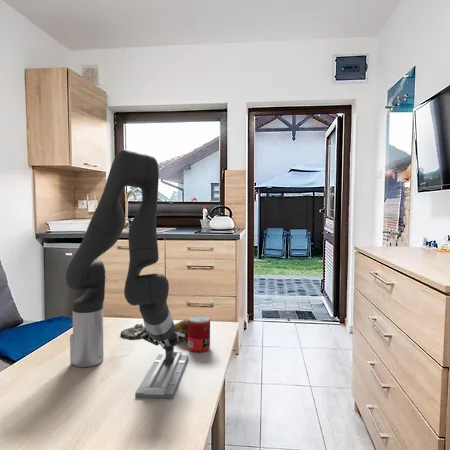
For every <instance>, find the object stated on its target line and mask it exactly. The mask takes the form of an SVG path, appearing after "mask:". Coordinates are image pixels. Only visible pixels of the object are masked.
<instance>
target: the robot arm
mask: <svg viewBox="0 0 450 450" xmlns="http://www.w3.org/2000/svg"><path fill="white" fill-rule="evenodd" d="M109 169H110V170H109V172H108V176H107V179H106V183H105V185H104V189H103V192H102V194H101V196H100V199H99V202H98V204H97V206H96V208H95V210H94V212H93V215H92V217H91V219H90V222H89V223H88V226H87V228H86V231H85V234H84V236H83V238H82V241H81V243H80V244H79V246H78V249H77V250H76V252H75V253H74V255H73V257H72V258H71V260H70V262H69V264H68V267H67V268H66V273H65V281H66V285H67V287H68V288H69V289H71V290H73V291H74V290H75V291H81V290H86V292H85V293H84V294H82V295H81V296H80V297H78V298H76V299H75V300H74V301H73V302H72V305H71V307H72V333H71V334H70V335H69V352H70V353H69V354H70V355H69V358H70V359H69V361H70V362H69V365H70V366H75V367H76V368H77V367H78V368H90V367H94V366H97V365H100V364H102V362H103V361H104V302H105V295H106V294H105V293H106V290H105V289H106V268H105V264H104V262H103V261H102V260H101V259H98V258H100V257H101V256H102V255H103V254H105V253H106V252H108V251H109V250H110V249H112V247H114V246H115V244H116V243H117V242H118V240H119V239H120V236H121V234H122V233H123V231H124V228H125V226H126V216H125V213H124V209H123V207H122V203H121V194H122V192H123V190H124V188H125V187H132V188H137V189H138V188H139V189H141V196H142V197H141V203H140V205H139V208H138V210H137V212H136V214H135V216H134V218H133V219H132V220H131V221H132V222H130V226H129V228H128V229H129V230H128V236H127V237H128V238H127V239H128V252H129V262H128V271H127V274H126V279H125V285H124V290H123V293H124V298H125V300H126V302H127V303H128V304H129V305H131V306H139V307H138V309H139V313H140V314H141V317H142V320H143V324H144V325H143V326H145V327H146V329H147V330H144V333H143V338H142V339H141V340H144V341H146V342H148V343H150V344H152V345H154V346H159V345H160V346H161V347H162V349H163V350H165V351H170V350H172V346H174V347H176V346H178V345H179V344H181V343H182V342H184V341H185V339H184V337H185V332H184V331H181V332H177V329H175V326H174V324H175V323H174V319H173V316H172V313H171V310H170V309H169V306H168V303H167V300H168V296H169V290H170V285H169V284H170V283H169V280H168V278H167V277H166V275H164V274H162V273H160V272H157V273H156V272H155V273H154V272H153V273H148V274H142V275H140V274H141V272H142V270H143V269H145V268H147V267H149V266H152V265H154V264H157V263H158V261H159V258H160V257H159V256H160V255H159V247H158V246H159V245H158V244H159V243H158V233H157V209H158V200H159V199H158V197H159V179H160V177H159V175H160V174H159V173H160V171H159V164H158V161H157V159H156V158H155V156H153V155H150V154H148V153H143V152H139V151H134V150H130V149H121V150H119V151H118V152H117V154H116V155H115V157H114V159H113V161H112V164H111V167H110V168H109Z"/></svg>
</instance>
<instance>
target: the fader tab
mask: <svg viewBox="0 0 450 450" xmlns="http://www.w3.org/2000/svg"><path fill="white" fill-rule="evenodd" d="M174 348H175V346H172V350H170V351H166V358H165V363H168V364H172V363H173V361H174V359H175V356H174V351H175V349H174Z"/></svg>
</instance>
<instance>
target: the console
mask: <svg viewBox="0 0 450 450" xmlns="http://www.w3.org/2000/svg"><path fill="white" fill-rule="evenodd" d="M174 356H175V359H174V361H173V363H172V364H168V363H165V358H166V351H165V352H164V353H163V354H159V353H158V355H157V356H156V358H155V360H154V361H153V363H152V365H151V366H150V367H149V370H148V371H147V373H146V375H144V378H143V380H142V381H141V382H140V385H139V386H138V388H137V389H136V391H135V394H134V396H135V398H145V399H147V398H148V399H174V397H175V395H176V391H177V389H178V386H179V384H180V381H181V379H182V376H183V373H184V371H185V368H186V366H187V363H188V360H189V355H188V354H187V355H186V354H182V350H174Z"/></svg>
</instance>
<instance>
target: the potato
mask: <svg viewBox="0 0 450 450" xmlns="http://www.w3.org/2000/svg"><path fill="white" fill-rule="evenodd" d="M174 326H175V329H177V332H181V331H184V332H185V337H184V340H185V339H187V340H188V319H183V320H180V321H178V322H177V323H174Z"/></svg>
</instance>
